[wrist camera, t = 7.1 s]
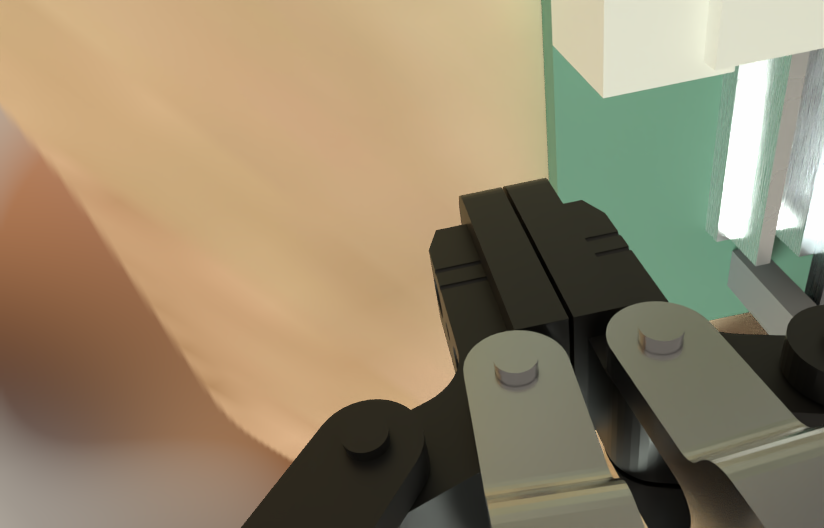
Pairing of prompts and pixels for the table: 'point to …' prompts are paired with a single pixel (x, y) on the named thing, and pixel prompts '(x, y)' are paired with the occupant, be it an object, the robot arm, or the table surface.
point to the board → (662, 189)
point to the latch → (678, 38)
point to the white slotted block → (770, 156)
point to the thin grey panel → (817, 270)
